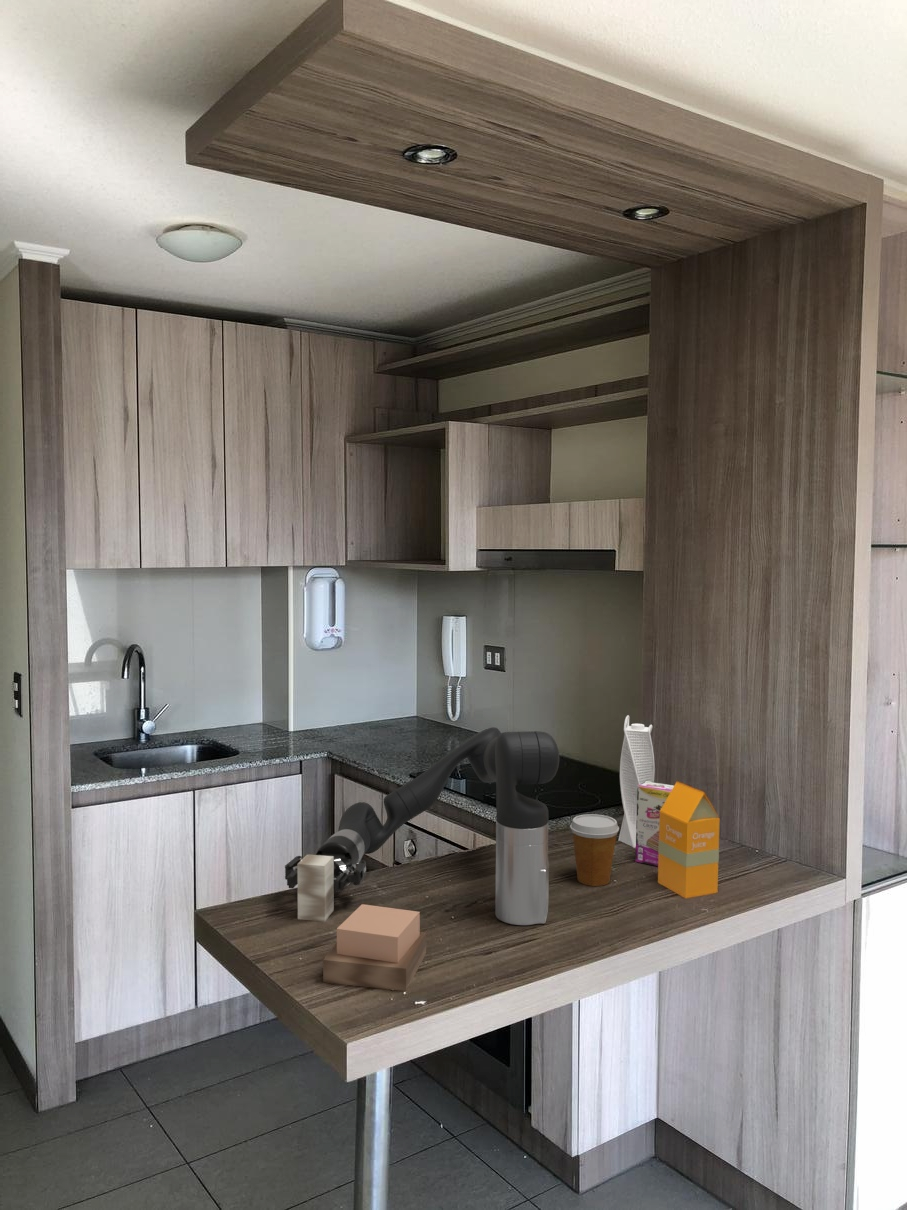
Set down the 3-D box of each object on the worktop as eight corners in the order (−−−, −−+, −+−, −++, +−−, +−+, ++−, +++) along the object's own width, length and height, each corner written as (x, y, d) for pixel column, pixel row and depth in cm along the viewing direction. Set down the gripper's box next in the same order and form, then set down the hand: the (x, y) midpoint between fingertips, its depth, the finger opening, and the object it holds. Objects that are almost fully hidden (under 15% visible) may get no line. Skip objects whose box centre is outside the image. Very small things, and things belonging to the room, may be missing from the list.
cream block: (333, 910, 171) (333, 856, 171) (324, 921, 166) (324, 866, 166) (307, 907, 172) (307, 854, 171) (297, 919, 167) (297, 863, 167)
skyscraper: (610, 839, 212) (612, 715, 209) (637, 834, 215) (639, 712, 213) (632, 850, 205) (635, 722, 202) (659, 845, 208) (662, 719, 206)
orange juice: (685, 898, 178) (687, 794, 176) (656, 882, 186) (659, 782, 184) (718, 892, 181) (721, 789, 179) (689, 876, 189) (692, 778, 187)
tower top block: (419, 935, 153) (419, 911, 152) (397, 963, 143) (397, 937, 143) (362, 927, 155) (362, 904, 155) (336, 953, 146) (336, 928, 146)
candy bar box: (634, 862, 197) (635, 785, 196) (643, 855, 201) (644, 780, 200) (686, 873, 191) (688, 793, 190) (694, 866, 195) (696, 788, 194)
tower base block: (426, 956, 154) (426, 932, 154) (406, 994, 142) (406, 968, 141) (349, 948, 157) (349, 924, 157) (323, 985, 144) (323, 959, 144)
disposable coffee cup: (586, 868, 194) (587, 810, 193) (627, 879, 187) (628, 820, 186) (559, 880, 186) (560, 821, 185) (601, 893, 180) (602, 831, 179)
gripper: (376, 875, 182) (352, 908, 167) (305, 870, 185) (275, 902, 169) (376, 837, 182) (351, 867, 166) (305, 832, 184) (274, 861, 169)
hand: (313, 885), depth 168 cm, fingers open, 8 cm apart
